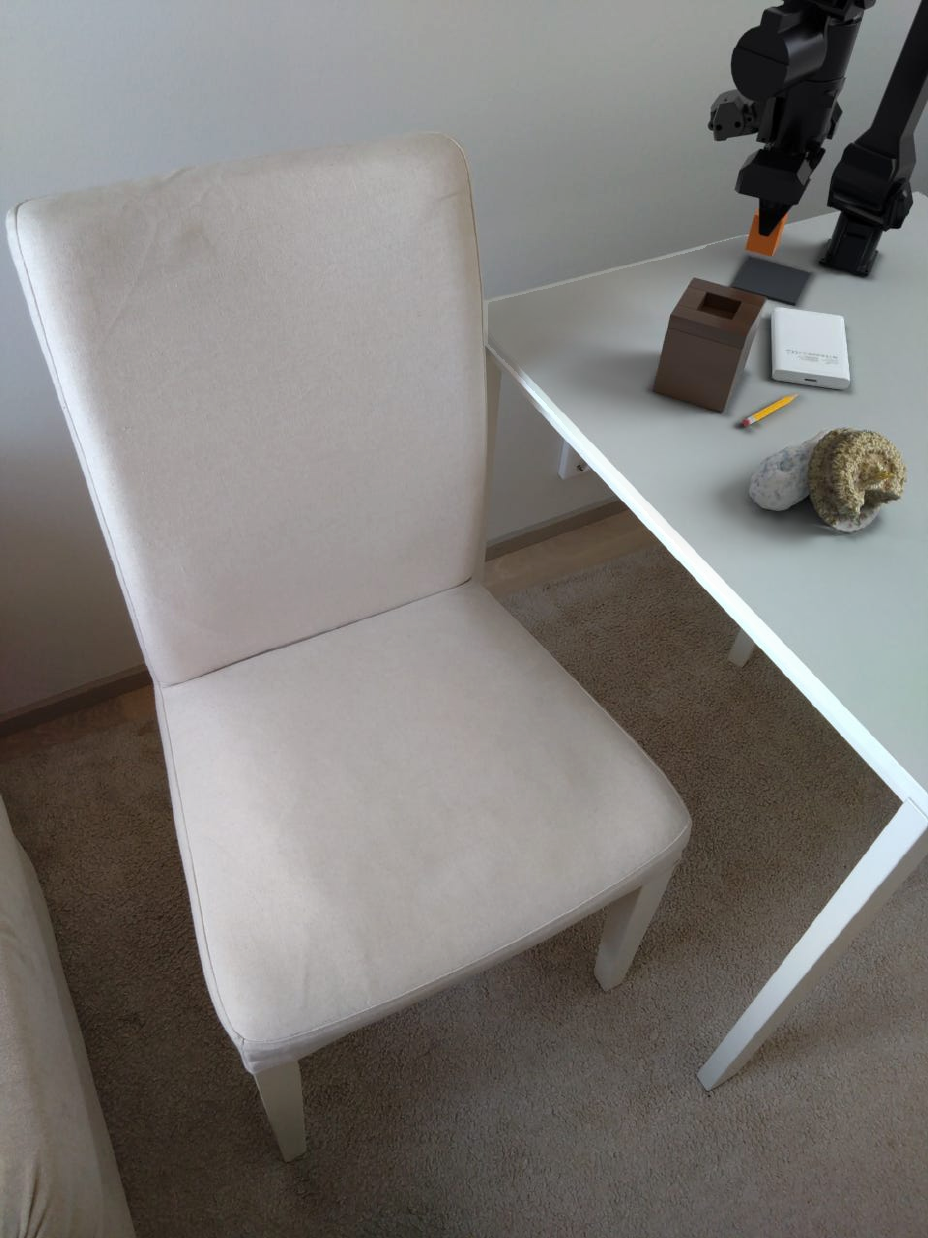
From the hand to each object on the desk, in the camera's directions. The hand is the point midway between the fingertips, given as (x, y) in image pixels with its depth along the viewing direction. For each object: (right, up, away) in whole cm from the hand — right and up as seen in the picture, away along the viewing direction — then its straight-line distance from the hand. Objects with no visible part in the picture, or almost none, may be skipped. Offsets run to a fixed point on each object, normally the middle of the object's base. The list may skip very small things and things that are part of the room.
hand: (767, 227), depth 98 cm
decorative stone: (+6, -31, -7) cm, 32 cm away
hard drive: (+7, -11, +7) cm, 15 cm away
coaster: (+6, 0, +17) cm, 18 cm away
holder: (-7, -16, +3) cm, 17 cm away
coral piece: (+4, -29, -11) cm, 31 cm away
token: (0, -1, +2) cm, 2 cm away
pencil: (0, -20, 0) cm, 20 cm away
